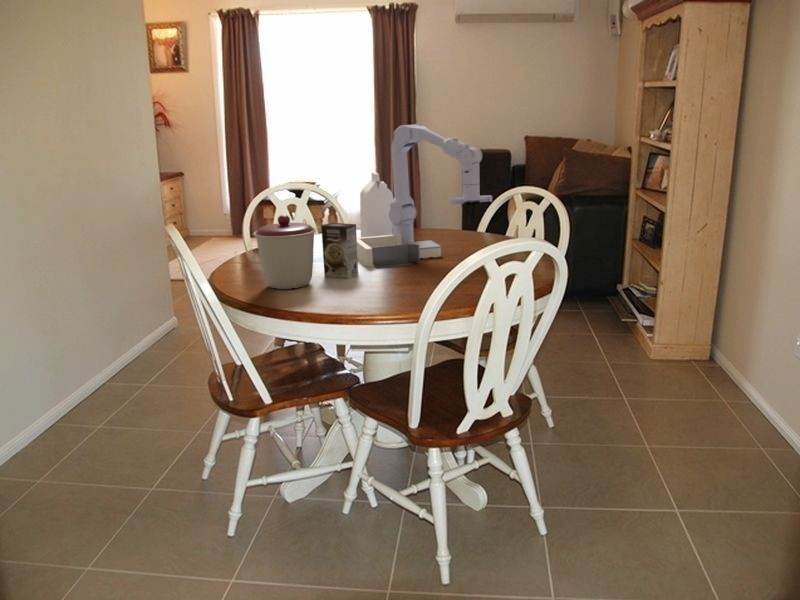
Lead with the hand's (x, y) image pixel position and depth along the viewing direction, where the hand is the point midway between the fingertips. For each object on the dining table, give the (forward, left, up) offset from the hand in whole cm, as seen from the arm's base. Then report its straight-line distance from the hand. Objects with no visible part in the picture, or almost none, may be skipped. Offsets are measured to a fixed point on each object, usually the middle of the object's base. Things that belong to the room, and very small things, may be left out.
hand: (471, 224), depth 242 cm
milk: (-41, -23, -11) cm, 48 cm away
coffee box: (+12, -48, -11) cm, 51 cm away
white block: (-7, -15, -11) cm, 20 cm away
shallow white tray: (-7, -30, -10) cm, 33 cm away
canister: (+18, -65, -11) cm, 68 cm away
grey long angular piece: (+4, -28, -10) cm, 30 cm away
